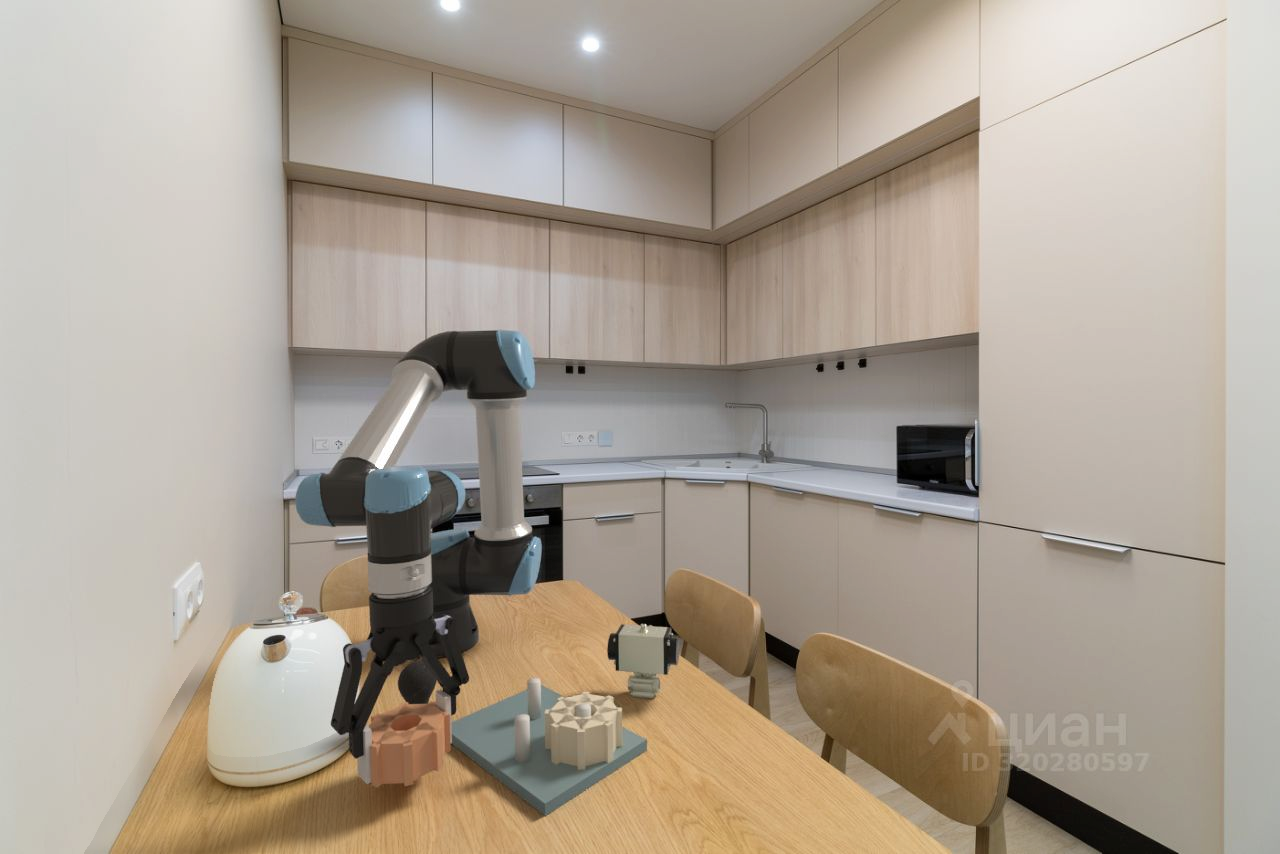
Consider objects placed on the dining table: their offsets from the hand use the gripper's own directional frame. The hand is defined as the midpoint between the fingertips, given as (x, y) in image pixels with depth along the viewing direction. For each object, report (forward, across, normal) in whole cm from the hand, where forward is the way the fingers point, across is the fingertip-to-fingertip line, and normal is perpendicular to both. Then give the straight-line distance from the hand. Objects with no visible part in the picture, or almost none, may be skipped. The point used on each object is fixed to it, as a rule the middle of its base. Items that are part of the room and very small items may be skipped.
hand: (407, 758), depth 74 cm
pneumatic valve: (+4, +38, -6) cm, 39 cm away
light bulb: (+4, +7, +12) cm, 15 cm away
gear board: (+4, +17, -6) cm, 19 cm away
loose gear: (0, 0, 0) cm, 0 cm away
